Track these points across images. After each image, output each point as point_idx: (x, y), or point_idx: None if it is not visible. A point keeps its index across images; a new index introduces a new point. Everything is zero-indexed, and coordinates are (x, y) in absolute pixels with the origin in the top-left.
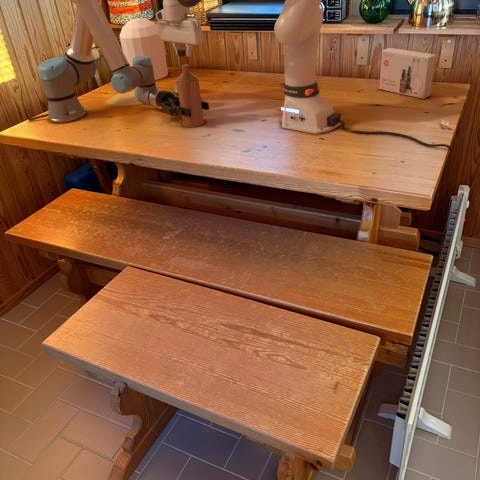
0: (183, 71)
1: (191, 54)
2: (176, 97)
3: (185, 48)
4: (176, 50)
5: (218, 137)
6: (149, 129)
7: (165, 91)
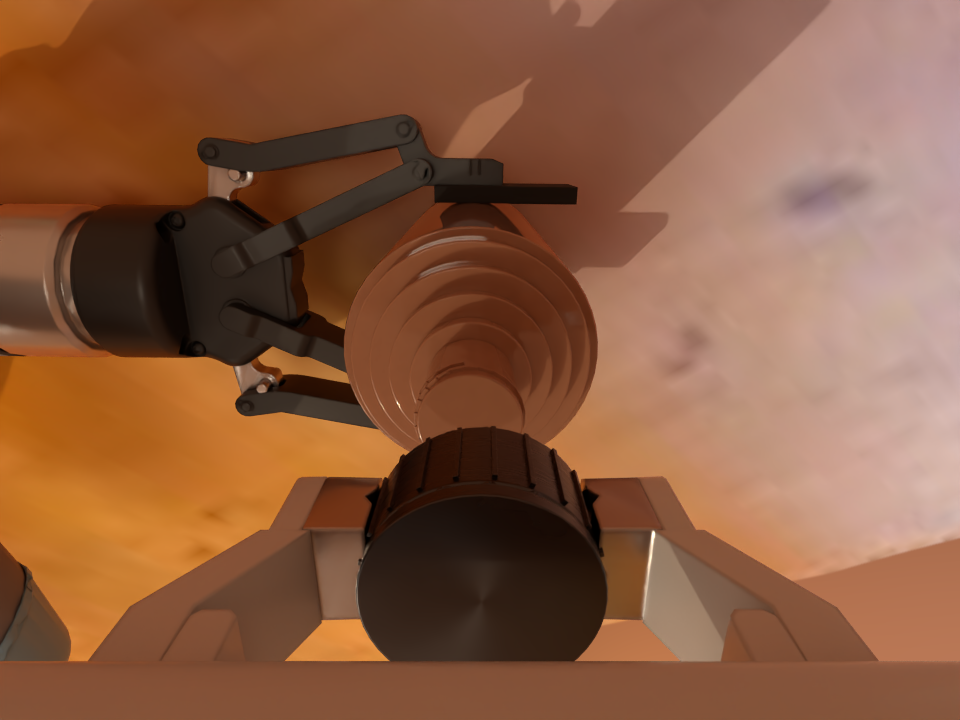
0: None
1: (667, 486)
2: (249, 262)
3: (510, 558)
4: (308, 615)
5: (764, 332)
6: (323, 461)
7: (124, 299)
